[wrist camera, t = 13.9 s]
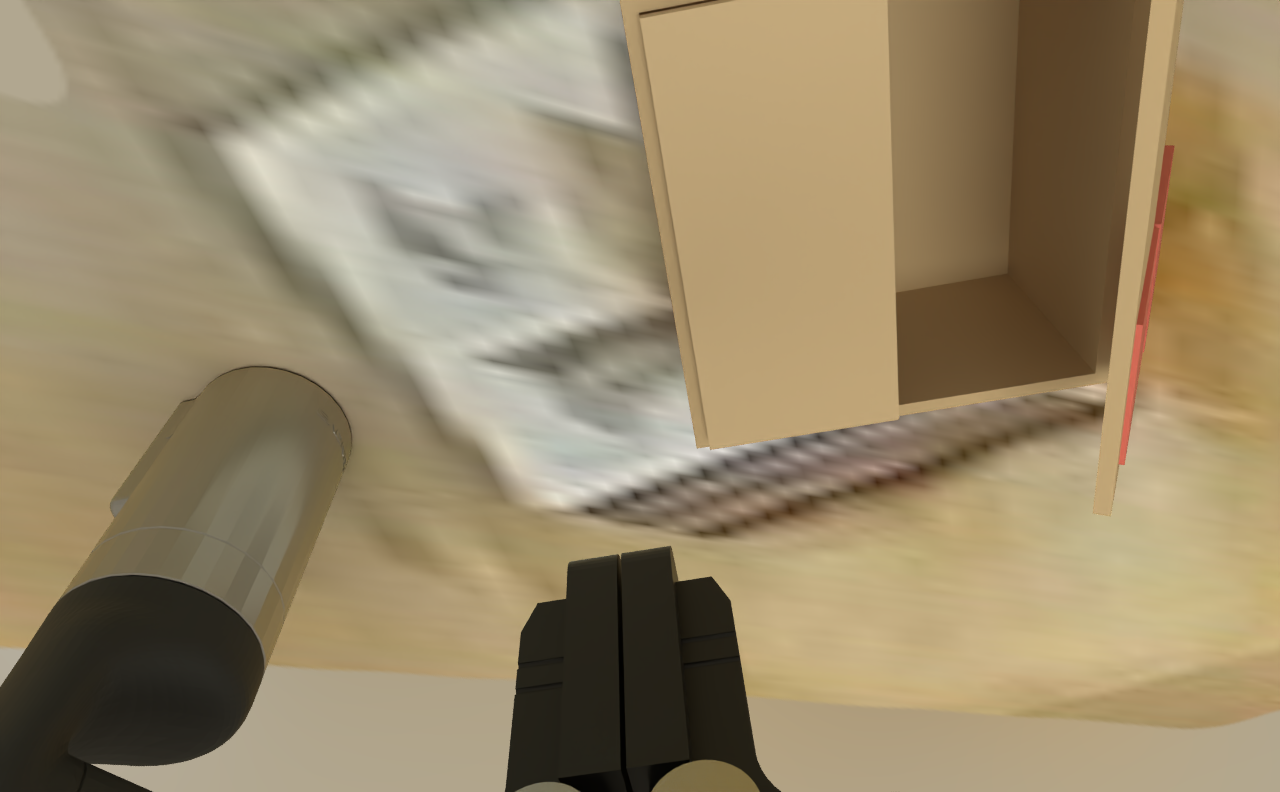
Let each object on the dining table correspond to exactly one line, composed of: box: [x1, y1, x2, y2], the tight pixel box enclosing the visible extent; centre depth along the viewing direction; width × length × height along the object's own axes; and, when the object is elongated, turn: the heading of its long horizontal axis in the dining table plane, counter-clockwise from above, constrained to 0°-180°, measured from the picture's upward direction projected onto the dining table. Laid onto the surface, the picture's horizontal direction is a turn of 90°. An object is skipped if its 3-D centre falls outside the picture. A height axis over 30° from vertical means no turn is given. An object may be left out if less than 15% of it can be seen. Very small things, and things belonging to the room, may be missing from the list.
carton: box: [620, 0, 1151, 450], centre depth 42 cm, size 19×20×12 cm
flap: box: [1093, 0, 1184, 516], centre depth 36 cm, size 19×18×1 cm
